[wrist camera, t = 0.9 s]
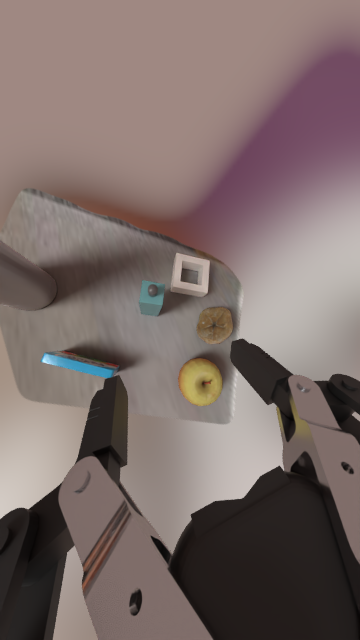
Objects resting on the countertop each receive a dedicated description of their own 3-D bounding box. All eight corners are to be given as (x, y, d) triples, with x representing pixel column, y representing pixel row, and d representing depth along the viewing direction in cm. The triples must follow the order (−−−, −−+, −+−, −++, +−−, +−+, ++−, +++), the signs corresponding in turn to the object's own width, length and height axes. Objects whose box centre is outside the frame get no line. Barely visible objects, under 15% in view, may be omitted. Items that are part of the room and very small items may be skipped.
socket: (170, 291, 38) (172, 286, 34) (173, 260, 39) (176, 252, 36) (202, 297, 40) (207, 293, 36) (204, 267, 41) (209, 260, 38)
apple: (215, 361, 38) (233, 366, 30) (208, 400, 36) (225, 416, 28) (180, 352, 36) (190, 355, 28) (171, 393, 34) (178, 408, 26)
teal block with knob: (141, 313, 35) (138, 298, 23) (143, 298, 36) (142, 275, 23) (157, 316, 36) (163, 302, 23) (159, 300, 37) (166, 279, 24)
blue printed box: (120, 365, 32) (114, 370, 26) (117, 372, 32) (111, 379, 26) (63, 350, 30) (43, 352, 24) (60, 357, 30) (38, 361, 24)
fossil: (232, 304, 35) (232, 344, 31) (235, 312, 38) (234, 349, 34) (198, 307, 39) (193, 342, 35) (203, 314, 42) (199, 347, 38)
